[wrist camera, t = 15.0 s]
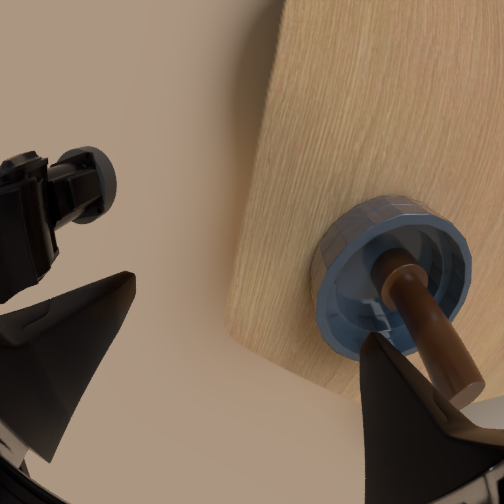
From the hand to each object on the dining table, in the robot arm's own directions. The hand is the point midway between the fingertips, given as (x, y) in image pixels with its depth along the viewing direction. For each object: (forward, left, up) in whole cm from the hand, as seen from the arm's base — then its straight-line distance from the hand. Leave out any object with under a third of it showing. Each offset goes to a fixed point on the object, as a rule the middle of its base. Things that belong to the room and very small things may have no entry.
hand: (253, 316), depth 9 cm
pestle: (+11, -6, -12) cm, 17 cm away
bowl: (+10, -6, -13) cm, 17 cm away
